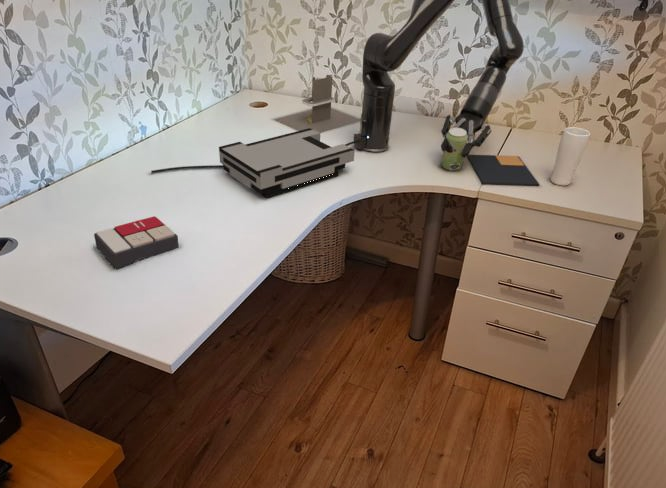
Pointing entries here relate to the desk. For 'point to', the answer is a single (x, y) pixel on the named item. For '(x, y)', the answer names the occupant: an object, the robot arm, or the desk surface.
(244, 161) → the game console
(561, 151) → the drinking glass
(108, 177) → the desk surface
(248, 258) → the desk surface
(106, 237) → the button panel
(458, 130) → the beverage can
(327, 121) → the architectural model
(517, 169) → the desk mat
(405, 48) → the robot arm
